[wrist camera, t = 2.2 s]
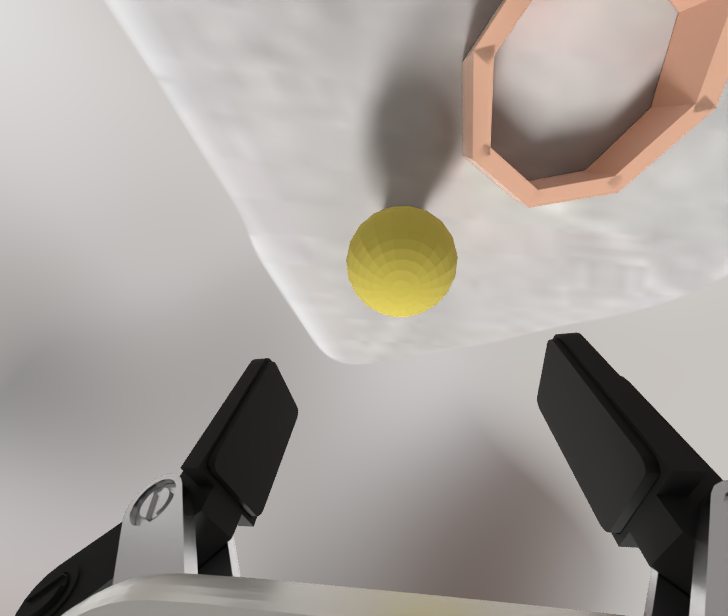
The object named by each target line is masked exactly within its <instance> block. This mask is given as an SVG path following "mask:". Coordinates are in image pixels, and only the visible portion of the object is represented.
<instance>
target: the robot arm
mask: <svg viewBox="0 0 728 616" xmlns="http://www.w3.org/2000/svg"><path fill="white" fill-rule="evenodd" d="M537 402H538V406H539V409H540V411H541V413H542V414H543V416H544V418H545V420H546V422H547V424H548V426H549V428H550V430H551V432H552V434H553V435H554V437H555V439H556V441H557V443H558V445H559V447H560V449H561V451H562V453H563V455H564V456H565V458H566V460H567V462H568V464H569V466H570V468H571V470H572V471H573V474H574V476H575V478H576V479H577V481H578V483H579V485H580V487H581V489H582V491H583V493H584V495H585V497H586V498H587V500H588V502H589V504H590V506H591V508H592V510H593V512H594V514H595V516H596V518H597V519H598V521H599V523H600V525H601V526H602V527H603V529H604V530H605V531H606V532H611V533H612V535H613V537H614V538H615V540H616V542H617V544H618V546H620V547H637V548H639V549H640V550H641V552H642V554H643V556H644V557H645V559H646V561H647V562H648V564H649V566H650V567H651V574H650V580H649V587H648V592H647V598H646V605H645V611H644V616H728V480H726V481H723V480H722V479H721V478H720V477H719V476H718V475H717V474H716V473H715V471H713V469H712V468H711V467H710V466H709V465H708V464H707V463H706V462H705V461H704V460H703V459H702V458H701V457H700V456H699V455H698V454H697V453H696V452H695V451H694V450H693V448H692V447H691V446H690V445H689V444H688V443H687V442H686V441H685V440H684V439H683V438H682V437H681V436H680V435H679V434H678V433H677V432H676V430H675V429H674V428H673V427H672V426H671V425H670V424H669V423H668V422H667V421H666V420H665V419H664V418H663V417H662V416H661V415H660V414H659V413H658V412H657V411H656V409H655V408H654V407H653V406H652V405H651V404H650V403H649V402H648V401H647V400H646V399H645V398H644V397H643V396H642V395H641V394H640V393H639V392H638V391H637V389H635V388H634V386H633V385H632V384H631V383H630V382H629V381H628V380H626V379H625V378H624V377H622V376H620V375H619V374H618V373H617V372H616V371H615V370H614V369H613V368H612V367H611V366H610V365H609V364H608V363H607V361H606V360H605V359H604V358H603V357H602V356H601V355H600V354H599V353H598V352H597V351H596V350H595V349H594V348H593V347H592V346H591V344H589V342H588V341H587V340H586V339H585V338H584V337H583V336H582V335H581V334H580V333H567V334H557V335H555V336H554V338H553V339H552V340H549V341H548V343H547V348H546V353H545V358H544V364H543V369H542V374H541V379H540V385H539V390H538V396H537ZM297 416H298V408H297V406H296V404H295V402H294V400H293V398H292V396H291V393H290V392H289V389H288V387H287V385H286V383H285V381H284V379H283V377H282V375H281V373H280V371H279V369H278V367H277V365H276V364H275V362H272V361H271V360H270V359H269V358H265V359H254V360H252V361H251V363H250V364H249V366H248V367H247V369H246V370H245V372H244V373H243V375H242V376H241V378H240V379H239V381H238V382H237V384H236V385H235V387H234V388H233V390H232V391H231V393H230V394H229V396H228V397H227V399H226V400H225V402H224V403H223V405H222V406H221V408H220V409H219V411H218V412H217V414H216V415H215V417H214V418H213V420H212V421H211V423H210V424H209V426H208V427H207V429H206V430H205V432H204V433H203V435H202V436H201V438H200V439H199V441H198V442H197V444H196V445H195V447H194V448H193V450H192V451H191V453H190V454H189V456H188V457H187V459H186V460H185V462H184V463H183V465H182V467H181V469H182V470H183V472H182V474H181V475H180V476H178V475H177V474H172V473H170V474H166V475H162V476H160V477H159V478H156V479H155V480H153V481H152V482H150V483H149V484H148V485H146V486H145V487H144V488H143V489H142V490H141V491H140V492H139V493H138V494H137V495H136V497H135V498H134V499H133V500H132V502H131V503H130V505H129V506H128V508H127V510H126V512H125V515H124V518H123V522H121V523H120V524H118V525H117V526H116V527H114V528H113V529H111V530H110V531H108V532H107V533H106V534H104V535H103V536H101V537H100V538H98V539H97V540H95V541H94V542H92V543H91V544H90V545H88V546H87V547H86V548H84V549H82V550H81V551H80V552H78V553H77V554H75V555H74V556H72V557H71V558H69V559H68V560H67V561H65V562H64V563H62V564H61V565H59V566H58V567H57V568H56V569H54V570H53V571H52V572H50V573H49V574H48V575H47V576H46V577H45V578H44V579H43V580H42V581H41V582H40V583H39V584H38V585H37V586H36V587H35V588H34V589H33V590H32V591H31V593H30V594H29V595H28V597H27V598H26V599H25V600H24V602H23V603H22V605H21V607H20V608H19V610H18V611H17V613H16V615H15V616H623V615H615V614H606V613H598V612H590V611H582V610H573V609H564V608H554V607H544V606H534V605H524V604H514V603H504V602H495V601H485V600H474V599H465V598H456V597H445V596H435V595H424V594H415V593H404V592H394V591H383V590H374V589H363V588H353V587H341V586H332V585H321V584H311V583H300V582H289V581H277V580H267V579H255V578H245V577H241V576H240V570H239V564H238V558H237V553H236V547H235V541H234V535H233V534H234V532H235V529H236V527H237V525H239V526H254V524H255V521H256V518H257V516H259V515H260V514H261V513H262V511H263V509H264V507H265V504H266V501H267V498H268V496H269V493H270V490H271V488H272V485H273V482H274V480H275V477H276V474H277V471H278V468H279V466H280V463H281V460H282V458H283V455H284V452H285V449H286V447H287V444H288V441H289V438H290V436H291V433H292V430H293V428H294V425H295V422H296V419H297Z"/></svg>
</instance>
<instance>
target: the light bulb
mask: <svg viewBox="0 0 728 616" xmlns="http://www.w3.org/2000/svg"><path fill="white" fill-rule="evenodd" d="M346 262H347V270H348V277H349V281H350V283H351V285H352V287H353V289H354V291H355V293H356V294H357V296H358V297H359V298H360V299H361V300H362V301H363V302H364V303H365V304H366V305H367V306H369V307H370V308H372V309H374V310H376V311H377V312H379V313H381V314H385V315H389V316H393V317H409V316H413V315H416V314H420V313H423V312H424V311H426V310H428V309H429V308H431V307H433V306H435V305H436V304H437V303H438V302H439V301H440V300H441V299H442V298H443V297H444V296H445V295H446V294H447V292H448V290H449V288H450V286H451V284H452V282H453V280H454V278H455V274H456V265H457V253H456V249H455V245H454V241H453V237H452V235H451V234H450V233H449V231H448V230H447V228H446V227H445V225H444V224H443V222H442V221H441V220H439V219H438V218H436V217H435V216H434V215H432V214H431V213H429V212H428V211H426V210H423V209H419V208H415V207H412V206H397V207H389V208H387V209H384V210H382V211H379V212H377V213H374V214H373V215H372V216H371V217H369V218H368V219H367V220H366V221H365V222H363V223H362V224H361V225H360V226H359V228H358V230H357V231H356V233H355V235H354V236H353V238H352V240H351V241H350V246H349V250H348V255H347V260H346Z"/></svg>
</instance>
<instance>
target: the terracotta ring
mask: <svg viewBox="0 0 728 616" xmlns="http://www.w3.org/2000/svg"><path fill="white" fill-rule="evenodd" d="M531 1H532V0H503V1H502V2H501V4H500V5H499V7H498V8H497V10H496V11H495V13H494V14H493V16H492V18H491V19H490V21H489V22H488V24H487V25H486V27H485V28H484V30H483V31H482V33H481V35H480V36H479V38H478V39H477V41H476V42H475V44H474V45H473V47H472V48H471V50H470V51H469V53H468V55H467V56H466V58H465V59H464V61H463V62H462V117H463V156H464V157H465V158H466V159H468V160H469V161H470V162H471V163H472V164H473V165H475V166H476V167H477V168H478V169H479V170H480V171H482V172H483V173H484V174H485V175H486V176H487V177H489V178H490V179H491V180H492V181H493V182H494V183H496V184H497V185H498V186H499V187H500V188H501V189H503V190H504V191H505V192H506V193H507V194H508V195H510V196H511V197H512V198H513V199H515V200H517V201H518V202H520V203H522V204H523V205H525V206H527V207H535V206H541V205H547V204H553V203H559V202H565V201H571V200H577V199H583V198H588V197H594V196H600V195H606V194H612V193H618V192H619V191H620V190H621V189H622V188H624V187H625V186H626V185H627V184H628V183H629V182H630V181H632V180H633V179H634V178H635V177H636V176H637V175H639V174H640V173H641V172H642V171H643V170H644V169H646V168H647V167H648V166H649V165H650V164H651V163H653V162H654V161H655V160H656V159H657V158H658V157H660V156H661V155H662V154H663V153H664V152H665V151H667V150H668V149H669V148H670V147H671V146H672V145H674V144H675V143H676V142H677V141H678V140H679V139H680V138H682V137H683V136H684V135H685V134H686V133H687V132H689V131H690V130H691V129H692V128H693V127H694V126H696V125H697V124H698V123H699V122H700V121H701V120H703V119H704V118H705V117H706V116H707V115H708V114H710V113H711V112H712V111H713V110H714V109H715V108H716V107H717V104H718V102H719V99H720V97H721V94H722V91H723V89H724V86H725V84H726V81H727V79H728V0H670V2H671V3H672V4H673V6H674V7H675V8H676V10H677V11H678V12H679V13H678V16H677V20H676V23H675V27H674V30H673V34H672V37H671V40H670V44H669V47H668V51H667V54H666V57H665V61H664V64H663V68H662V71H661V74H660V78H659V81H658V85H657V88H656V92H655V95H654V98H653V102H652V105H651V108H650V109H649V110H648V111H647V112H646V113H645V114H644V115H643V116H642V117H640V118H639V119H638V120H637V121H636V122H635V123H634V124H633V125H632V126H631V127H630V128H629V129H628V130H627V131H626V132H625V133H624V134H623V135H622V136H621V137H620V138H619V139H618V140H616V141H615V142H614V143H613V144H612V145H611V146H610V147H609V148H608V149H607V150H606V151H605V152H604V153H603V154H602V155H601V156H600V157H599V158H598V159H597V160H596V161H595V162H594V163H592V164H591V165H590V166H589V167H588V168H587V169H586V170H584V171H579V172H574V173H568V174H563V175H558V176H552V177H547V178H541V179H536V180H531V181H527V180H526V179H525V178H524V177H523V176H522V175H521V174H520V173H518V172H517V171H516V170H515V169H514V168H513V167H512V166H511V165H510V164H508V163H507V162H506V161H505V160H504V159H503V158H502V157H501V156H499V155H498V154H497V153H496V152H495V151H494V150H493V149H492V148H490V147H491V122H492V97H493V72H494V55H495V53H496V52H497V50H498V49H499V48H500V46H501V45H502V43H503V42H504V40H505V39H506V37H507V36H508V35H509V33H510V32H511V30H512V29H513V27H514V26H515V24H516V23H517V22H518V20H519V19H520V17H521V16H522V14H523V13H524V11H525V10H526V9H527V7H528V6H529V4H530V3H531Z"/></svg>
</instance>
